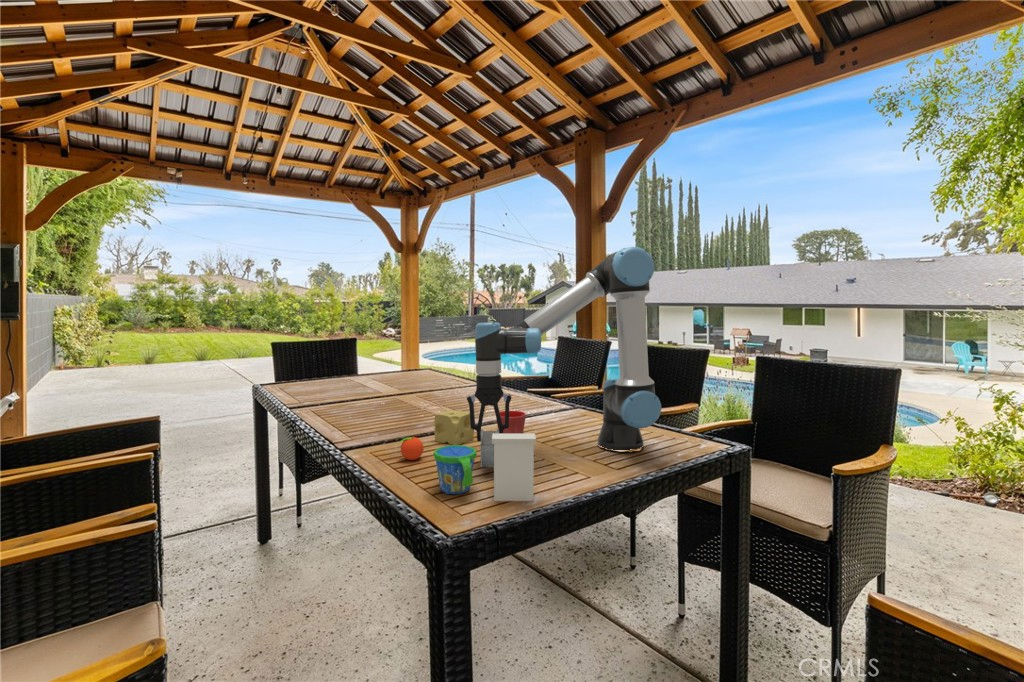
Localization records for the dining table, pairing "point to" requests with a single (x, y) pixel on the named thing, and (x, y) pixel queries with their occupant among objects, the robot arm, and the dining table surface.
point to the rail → (487, 449)
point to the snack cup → (455, 468)
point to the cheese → (453, 427)
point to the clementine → (411, 448)
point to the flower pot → (514, 422)
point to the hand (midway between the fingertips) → (490, 451)
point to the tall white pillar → (513, 466)
